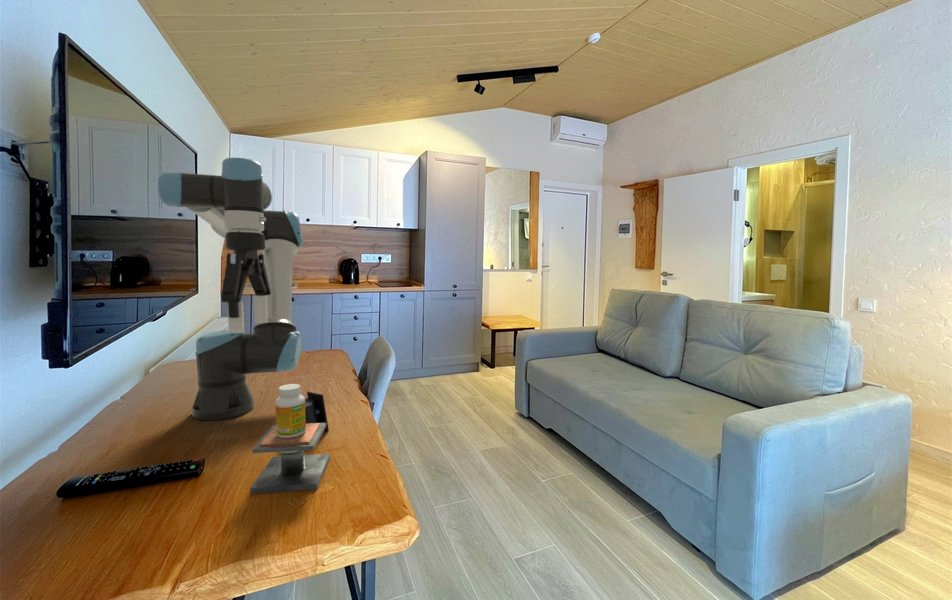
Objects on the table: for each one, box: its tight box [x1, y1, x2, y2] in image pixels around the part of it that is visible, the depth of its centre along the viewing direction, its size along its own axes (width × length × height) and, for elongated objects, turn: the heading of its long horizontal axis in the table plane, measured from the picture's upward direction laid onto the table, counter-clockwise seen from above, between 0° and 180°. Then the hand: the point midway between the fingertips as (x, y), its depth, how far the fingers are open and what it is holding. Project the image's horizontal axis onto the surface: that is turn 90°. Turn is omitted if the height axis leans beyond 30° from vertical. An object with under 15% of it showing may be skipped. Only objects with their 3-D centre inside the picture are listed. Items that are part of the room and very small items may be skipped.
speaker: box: [304, 390, 330, 432], centre depth 102 cm, size 8×6×10 cm
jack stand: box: [249, 423, 331, 495], centre depth 82 cm, size 12×12×9 cm
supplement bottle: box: [275, 383, 306, 438], centre depth 81 cm, size 5×5×10 cm
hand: (249, 327), depth 91 cm, fingers open, 13 cm apart
